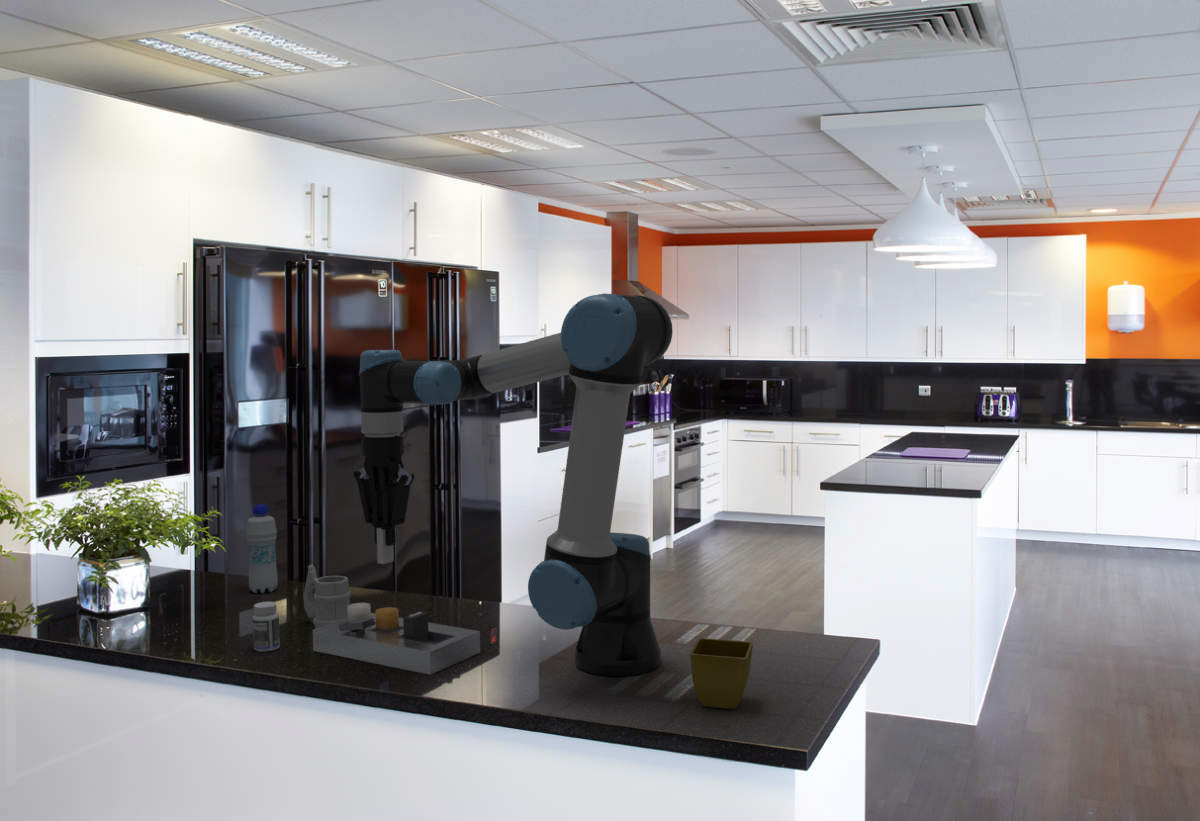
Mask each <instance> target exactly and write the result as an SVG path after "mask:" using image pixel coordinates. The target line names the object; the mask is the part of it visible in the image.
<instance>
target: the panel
mask: <svg viewBox="0 0 1200 821" xmlns="http://www.w3.org/2000/svg"><path fill="white" fill-rule="evenodd" d="M371 618H374V622H375V625H373V626H370V627H367V628H364V629H357V630H347V631H340V630H339V624H342V623H345V622H348V618H346V619H343V620H340V621H337V622H334V623H331V624H328V625H325V626H322V627H319V628H316V629H315V628H313V629H312V651H313V652H318V653H321V654H327V655H332V656H337V657H342V658H346V659H350V660H351V659H352V660H356V661H362V662H366V663H369V664H370V663H371V664H376V665H380V666H386V667H391V668H395V669H400V670H406V671H409V672H414V673H415V672H416V673H419V674H420V673H421V674H424V675H433V674H435V673H437V672H440V671H442V670H445V669H447V668H449V667H451V666H453V665H456V664H458V663H460V662H463V661H465V660H467V659H469V658H472V657H473V656H476V655H478V654H481V631H480V630H474V629H468V628H464V627H458V626H457V627H456V626H452V625H450V626H449V625H445V624H439V623H435V622H434V623H433V622H429V621H428V634H429V641H422V640H417V639H411V638H406V637H404V626H403V617H399V627H397V628H394V629H387V630H382V629H377V628H376V616H375V612H371Z"/></svg>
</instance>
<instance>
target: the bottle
mask: <svg viewBox="0 0 1200 821" xmlns="http://www.w3.org/2000/svg"><path fill="white" fill-rule="evenodd" d="M269 511H270V510H269V507H268V505H266V504H257V505H256V504H255V505H254V506H253V508H252V512H253V513H252V516H251V517H250V518H248V519H247V521H246V531H245V536H246V541H247V543H248V544H247V545H248V566H249V567H248V585H249V589H250V592H252V593H254V594H258V592H259V591H260V594H265V591H266V589H267V592H268V593H272V592H274V591H276V590H277V588H278V585H279V584H278V583H279V582H278V581H279V580H278V570H277V568H278V567H277V554H276V553H277V551H276V548H277V547H276V546H277V545H276V540H277V533H278V531H277V526H276V520H275V517H273V516H271V515H269V513H270V512H269Z"/></svg>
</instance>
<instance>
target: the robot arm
mask: <svg viewBox="0 0 1200 821" xmlns="http://www.w3.org/2000/svg"><path fill="white" fill-rule="evenodd" d="M673 331H674V330H673V324H672V319H671V317H670V315H669V313H668V311H667V310H666V309H665V308H664V306H663V305H662V304H660V303H659V302H658V301H656V300H655V299H653V298H651V297H648V296H644V295H626V294H616V293H615V294H614V293H605V292H604V293H599V294H593V295H588V296H586V297H584V298H581V299H580V300H579V301H578V302H576V303H575V304H574V305H573V306H572V307H571V308H570V309H569V310H568V312H567V313H566V315H565V317H564V318H563V322H562V325H561V328H560V332H557V333H555V334H554V333H553V334H551V335H547V336H543V337H539V338H537V339H533V340H530V341H526V342H523V343H518V344H516V345H511V346H508V347H505V348H501V349H497V350H493V351H491V352H486V353H483V354H479V355H476V356H475V355H474V356H472V357H468V358H463V359H462V358H461V359H450V360H449V359H448V360H445V359H444V360H425V361H423V360H422V361H421V360H420V361H417V360H416V361H414V360H413V361H411V360H410V361H405V360H404V359H403V354H402V352H401V351H400V350H399V349H368V350H364V351H362V352H361V354H360V356H359V357H360V358H359V360H360V361H359V372H358V376H359V386H360V416H361V417H360V423H361V424H360V425H361V426H360V431H361V433H362V434H364V436H362V437H361V455H362V456H363V457H364V461H363V465H362V466H363V467H362V468H360V469H359V470H355V471H353V473H352V474H353V478H354V479H355V481H356V483H357V487H358V492H359V493H358V494H359V497H360V501H361V502H360V503H361V508H362V511H363V517H364V522H365V523H366V524H370V525H372V527H373V528H374V531H373V532H374V544H375V545H376V550H377V551H376V552H377V553H376V558H377V564H380V565H387V564H388V563H392V562H394V561H395V559H394V557H395V556H394V545H396V543H397V542H396V541H397V540H396V528H397V527H398V526H400V525H403V524H404V523H405V519H406V514H407V508H408V502H409V496H410V490H411V486H412V484H413V482H414V480H415V474H413V473H408V471H406V470H405V469H404V466H405V465H404V463H403V460H402V457H403V456H404V453H405V446H404V445H405V441H404V440H405V439H404V436H403V435H401V433H403V432H404V404H422V405H430V406H436V405H437V406H439V405H449V404H451V403H452V402H457V401H462V400H464V401H465V400H480V399H485V398H488V397H491V396H492V395H493V394H496V393H500V392H504V391H508V390H511V389H516V388H520V387H525V386H527V385H532V384H536V383H540V382H544V381H548V380H552V379H556V378H560V377H564V376H569V377H570V379H571V380H572V381H573V382H574V384H575V387H576V389H575V395H574V396H575V398H574V404H573V413H572V420H571V426H570V427H571V428H570V433H569V440H568V441H569V442H568V450H567V458H566V465H565V472H564V479H563V487H562V492H561V493H562V494H561V502H560V510H559V517H558V523H557V529H556V530H555V531H554V532H553V533H552V534H550V535H549V536H547V538H546V544H545V550H544V558H543V561H541V562H539V563H538V565H536V566H535V567H534V568H533V570H531V572H530V575H529V578H528V583H527V592H528V598H529V601H530V603H531V606H532V608H533V610H535V611H536V613H537V614H538V617H539V618H540V619H541V620H543V621H544V622H545V623H546V624H547V625H549V626H551V627H553V628H555V629H560V630H573V629H575V628H579V627H581V630H580V634H579V636H578V640H577V643H576V647H575V649H574V650H575V651H574V663H575V666H576V667H577V668H578V669H579V670H581V671H583V672H586V673H590V674H593V675H600V676H609V677H611V676H612V677H613V676H614V677H625V676H635V675H640V674H644V673H645V674H646V673H649V672H651V671H653V670H655V669H657V668H659V667H660V666H661V661H662V659H661V658H662V657H661V655H662V654H661V653H662V652H661V648H660V645H659V642H658V638H657V635H656V632H655V630H654V627H653V624H652V620H651V558H652V556H651V553H650V542H649V540H648V539H647V537H645V536H643V535H641V534H635V533H624V532H611V530H612V529H611V528H612V522H613V517H614V516H613V513H614V509H615V502H616V501H615V500H616V495H617V488H618V479H619V474H620V468H621V458H622V452H623V446H624V438H625V432H626V424H627V417H628V409H629V403H630V397H631V396H630V395H631V394H632V392H634V391H635V390H636V389H638V388H639V387H640V386H641V385H642V380H643V374H644V366H648V365H650V364H653V363H655V362H656V361H658V360H659V359H661V358H662V356H664V354H665V353H666V352H667V351H668V349H669V348H670V345H671V343H672V340H673V339H672V338H673Z"/></svg>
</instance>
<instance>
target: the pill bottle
mask: <svg viewBox="0 0 1200 821" xmlns="http://www.w3.org/2000/svg"><path fill="white" fill-rule="evenodd" d="M253 613H254V615H252V619H251V620H252V639H253V650H255V652H260V653H261V652H263V653H264V652H271V651H276V650H278V649H279V648H280V647H281V639H280V638H281V636H280V616H279V613H278V612H277V603H276V602H275V601H262V602H256V603H255V604H253Z"/></svg>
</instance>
